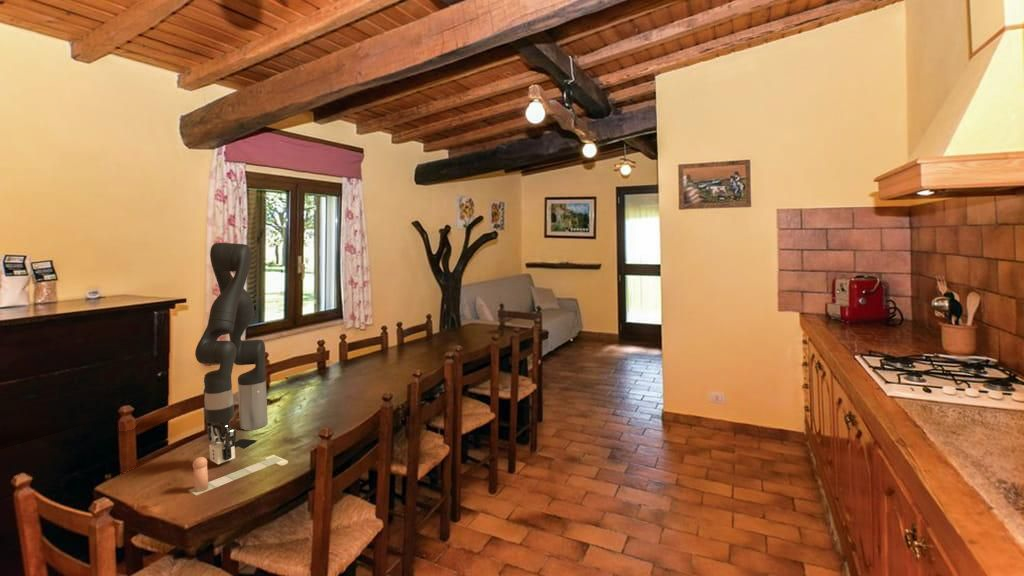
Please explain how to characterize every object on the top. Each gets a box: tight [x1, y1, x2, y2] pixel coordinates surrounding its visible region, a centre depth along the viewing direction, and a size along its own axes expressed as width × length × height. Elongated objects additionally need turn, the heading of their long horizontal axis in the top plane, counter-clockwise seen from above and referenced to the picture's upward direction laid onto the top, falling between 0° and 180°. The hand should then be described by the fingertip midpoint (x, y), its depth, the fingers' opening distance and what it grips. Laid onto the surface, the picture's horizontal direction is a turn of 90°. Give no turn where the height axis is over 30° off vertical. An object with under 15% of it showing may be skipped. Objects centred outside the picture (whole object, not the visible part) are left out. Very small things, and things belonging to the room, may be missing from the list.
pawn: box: [192, 456, 209, 492], centre depth 128 cm, size 3×3×9 cm
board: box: [187, 454, 289, 496], centre depth 137 cm, size 8×26×1 cm, turn 148°
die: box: [208, 441, 236, 465], centre depth 143 cm, size 5×5×5 cm
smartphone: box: [208, 438, 258, 458], centre depth 156 cm, size 7×1×15 cm
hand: (222, 456), depth 144 cm, fingers closed on die, 5 cm apart
